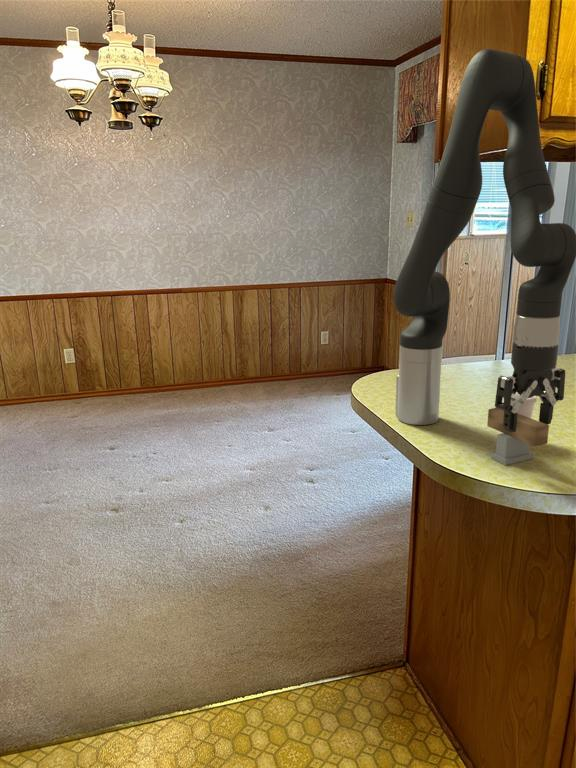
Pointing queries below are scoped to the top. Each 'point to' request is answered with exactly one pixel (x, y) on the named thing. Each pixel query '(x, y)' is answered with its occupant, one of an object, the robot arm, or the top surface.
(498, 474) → the top surface
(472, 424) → the top surface
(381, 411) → the top surface
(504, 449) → the block
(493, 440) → the top surface
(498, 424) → the walnut bar
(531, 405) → the smoothie
